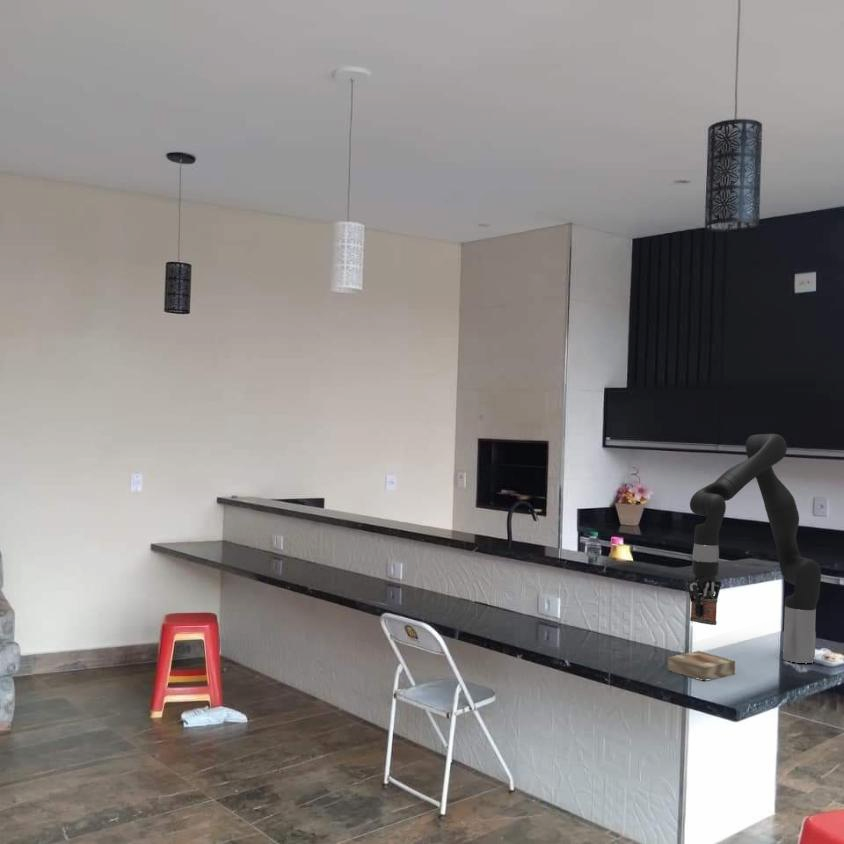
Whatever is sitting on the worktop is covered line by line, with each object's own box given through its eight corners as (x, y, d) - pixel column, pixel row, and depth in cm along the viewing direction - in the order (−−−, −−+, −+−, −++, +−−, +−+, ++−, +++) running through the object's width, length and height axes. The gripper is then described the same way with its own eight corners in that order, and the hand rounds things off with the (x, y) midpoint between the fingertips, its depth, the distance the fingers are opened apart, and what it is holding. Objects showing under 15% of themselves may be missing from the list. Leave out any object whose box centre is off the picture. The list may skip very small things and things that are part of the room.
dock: (698, 663, 279) (698, 650, 279) (734, 674, 269) (735, 660, 269) (667, 670, 270) (668, 656, 270) (704, 681, 260) (704, 667, 260)
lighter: (718, 623, 268) (719, 590, 268) (713, 625, 266) (715, 592, 266) (693, 619, 274) (694, 586, 274) (688, 620, 271) (689, 587, 271)
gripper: (709, 555, 277) (707, 611, 277) (680, 558, 268) (678, 615, 268) (730, 559, 271) (728, 615, 271) (701, 562, 262) (699, 620, 262)
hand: (703, 615), depth 270 cm, fingers closed on lighter, 3 cm apart
